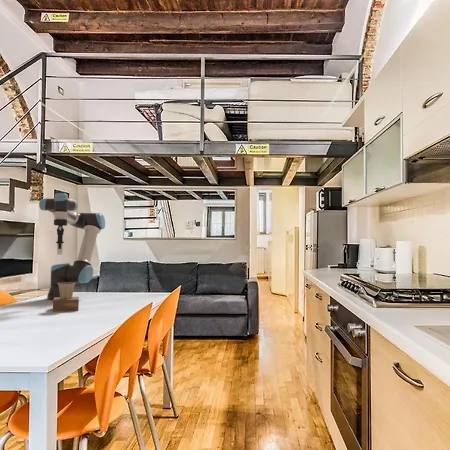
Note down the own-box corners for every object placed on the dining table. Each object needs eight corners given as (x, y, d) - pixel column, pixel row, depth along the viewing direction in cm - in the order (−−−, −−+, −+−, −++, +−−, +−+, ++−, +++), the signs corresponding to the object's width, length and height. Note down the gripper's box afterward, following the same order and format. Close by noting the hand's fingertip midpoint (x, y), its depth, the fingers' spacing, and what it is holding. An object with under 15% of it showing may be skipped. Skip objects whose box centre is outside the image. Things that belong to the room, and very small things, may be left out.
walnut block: (53, 308, 227) (54, 297, 228) (78, 307, 232) (78, 296, 232) (52, 311, 215) (53, 300, 216) (78, 310, 220) (78, 299, 220)
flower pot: (78, 297, 228) (78, 282, 228) (70, 299, 219) (70, 284, 219) (62, 297, 229) (63, 282, 229) (53, 299, 220) (54, 283, 220)
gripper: (54, 219, 252) (53, 253, 251) (53, 217, 228) (52, 254, 228) (67, 220, 254) (66, 253, 253) (67, 218, 231) (66, 254, 230)
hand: (59, 254), depth 241 cm, fingers open, 13 cm apart
